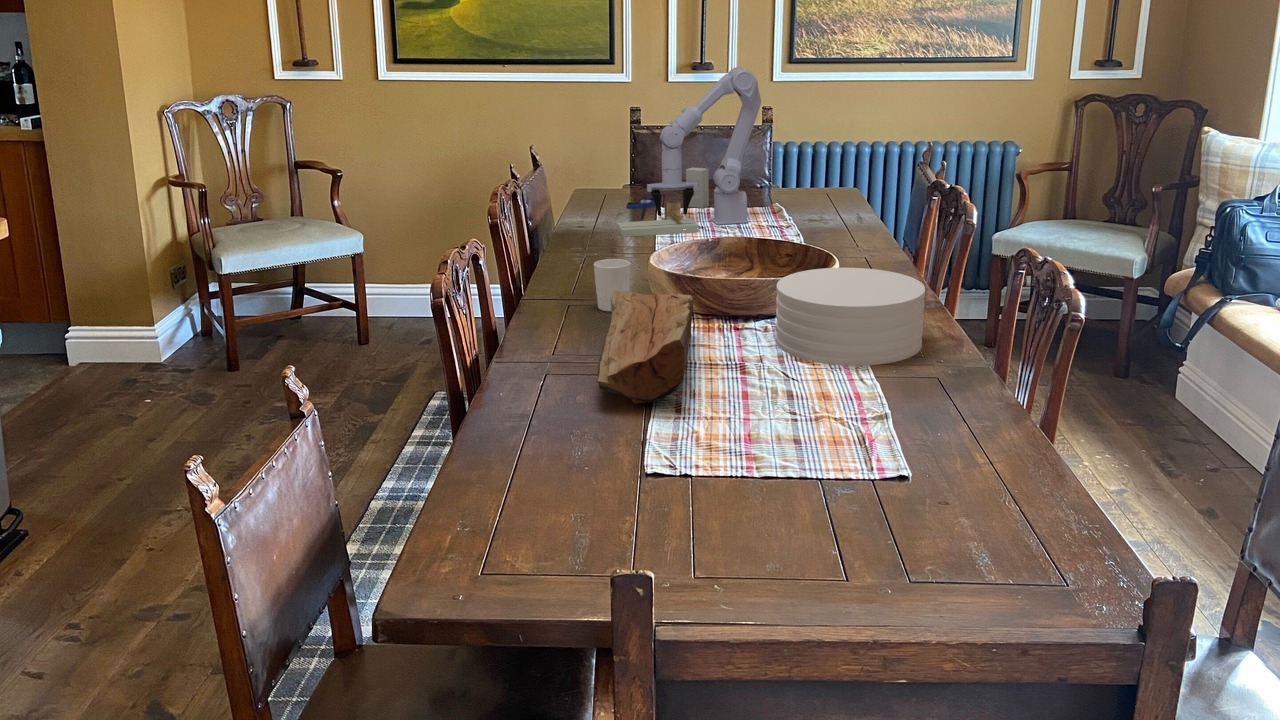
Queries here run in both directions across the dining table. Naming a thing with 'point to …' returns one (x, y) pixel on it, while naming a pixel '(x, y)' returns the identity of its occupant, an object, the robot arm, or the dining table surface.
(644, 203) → the bar clamp
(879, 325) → the plate stack
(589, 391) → the dining table surface
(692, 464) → the dining table surface
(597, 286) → the white cup
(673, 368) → the log
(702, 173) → the skincare box
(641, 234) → the board
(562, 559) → the dining table surface
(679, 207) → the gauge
